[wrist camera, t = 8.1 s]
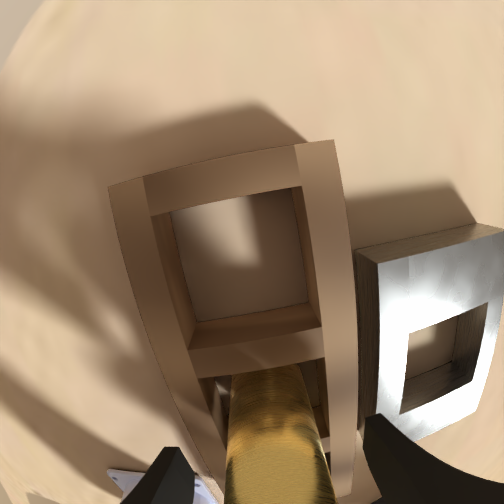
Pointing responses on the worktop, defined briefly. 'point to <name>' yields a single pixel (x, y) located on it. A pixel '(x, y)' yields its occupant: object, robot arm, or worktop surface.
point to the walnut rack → (257, 324)
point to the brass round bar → (274, 442)
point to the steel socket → (428, 323)
